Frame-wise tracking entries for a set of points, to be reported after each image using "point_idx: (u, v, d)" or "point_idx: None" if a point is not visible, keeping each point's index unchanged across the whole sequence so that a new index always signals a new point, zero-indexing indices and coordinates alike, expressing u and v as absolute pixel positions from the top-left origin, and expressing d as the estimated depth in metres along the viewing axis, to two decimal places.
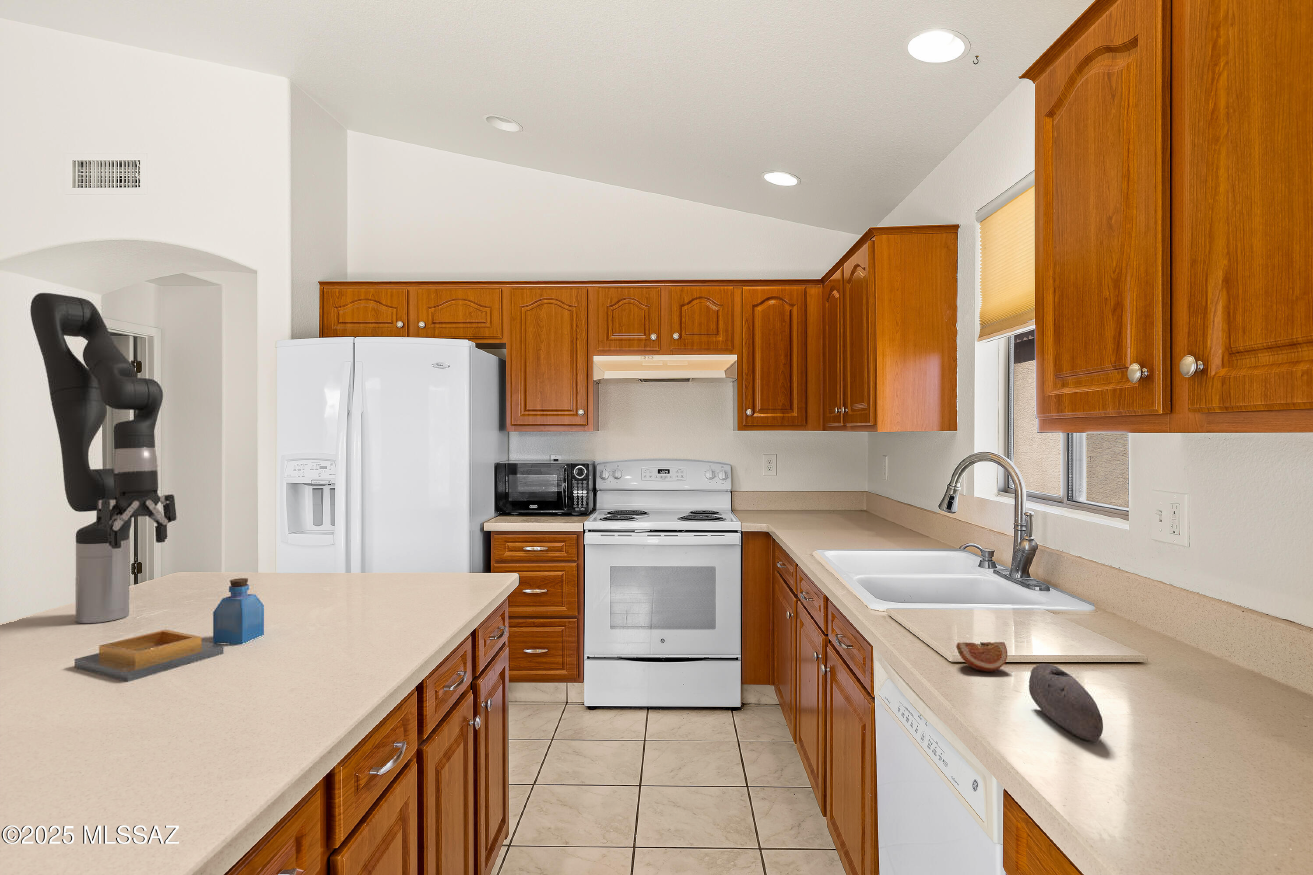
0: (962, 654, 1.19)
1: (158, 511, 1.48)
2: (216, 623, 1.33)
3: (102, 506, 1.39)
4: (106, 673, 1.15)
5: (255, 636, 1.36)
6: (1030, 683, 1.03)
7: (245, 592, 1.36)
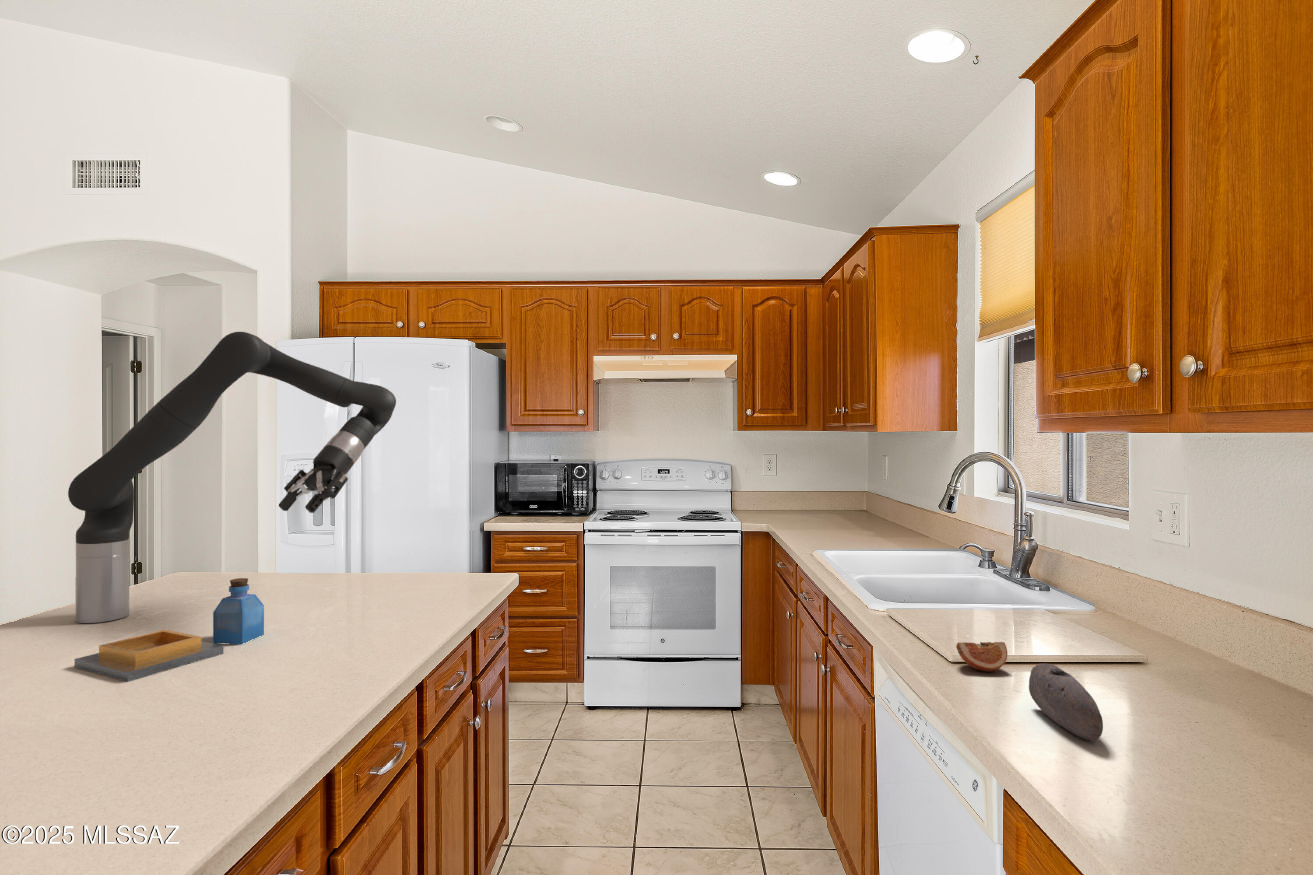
0: (962, 654, 1.19)
1: None
2: (216, 623, 1.33)
3: (344, 482, 1.51)
4: (106, 673, 1.15)
5: (255, 636, 1.36)
6: (1030, 683, 1.03)
7: (245, 592, 1.36)
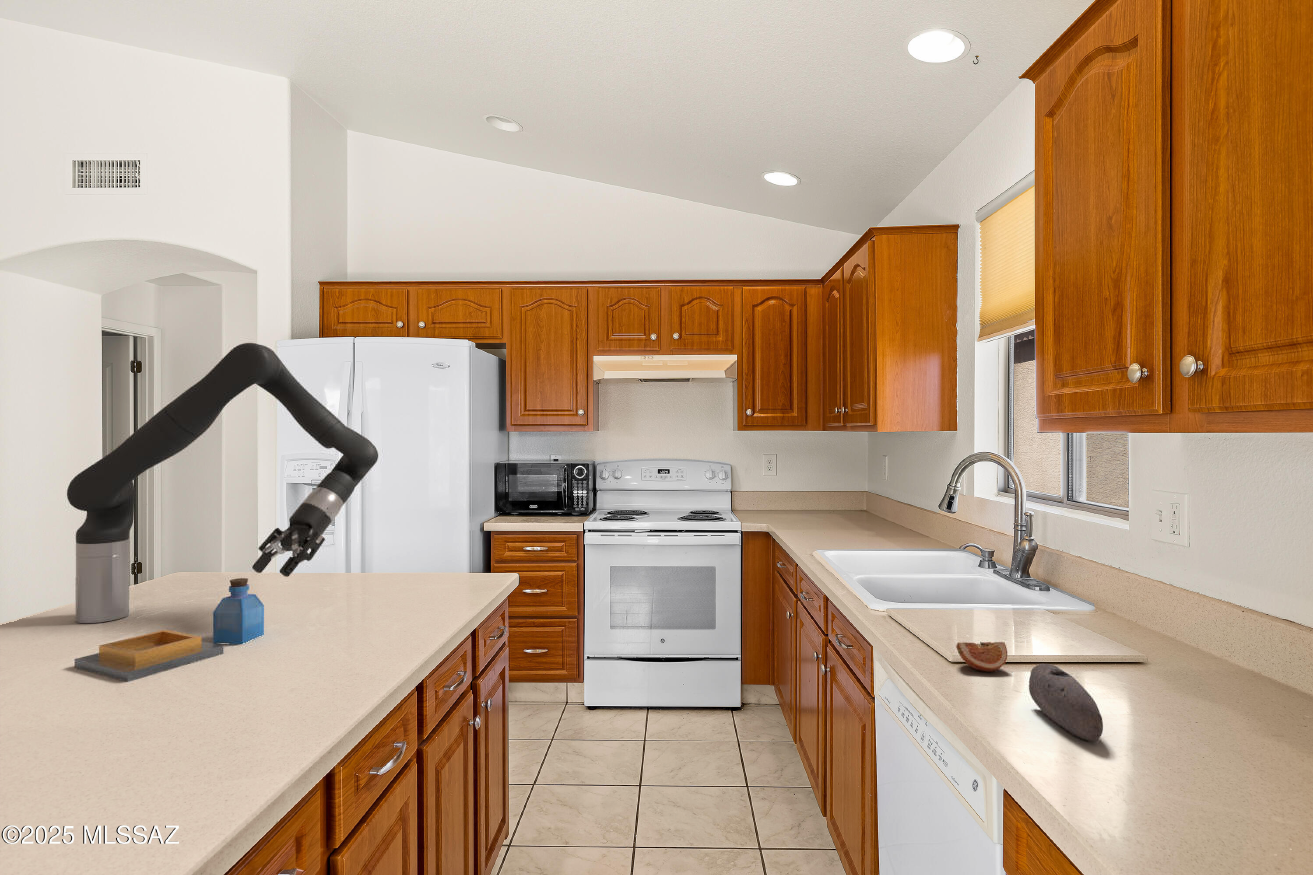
0: (962, 654, 1.19)
1: None
2: (216, 623, 1.33)
3: (321, 542, 1.46)
4: (106, 673, 1.15)
5: (255, 636, 1.36)
6: (1030, 683, 1.03)
7: (245, 592, 1.36)
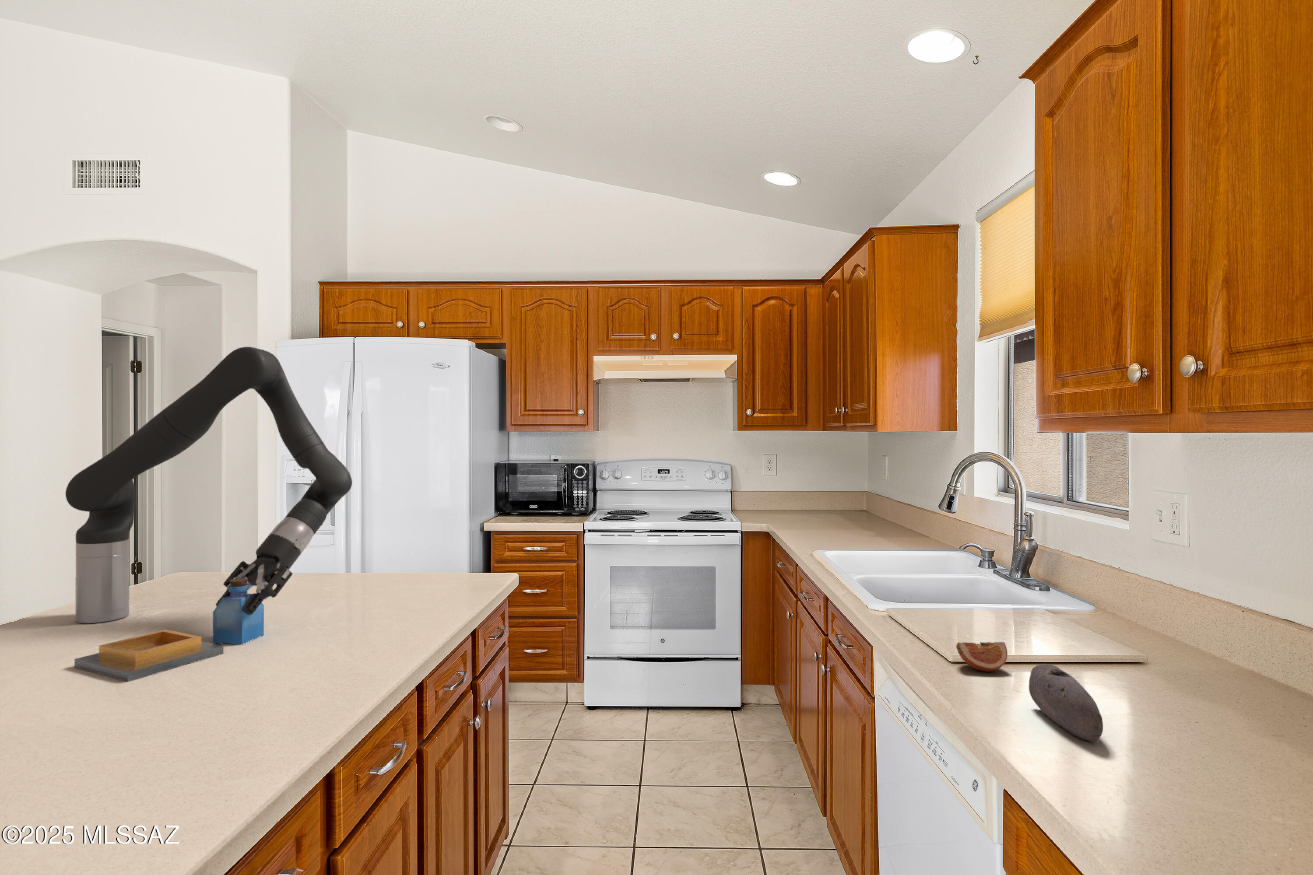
0: (962, 654, 1.19)
1: None
2: (216, 622, 1.33)
3: (288, 577, 1.38)
4: (106, 673, 1.15)
5: (255, 636, 1.36)
6: (1030, 683, 1.03)
7: (245, 592, 1.36)
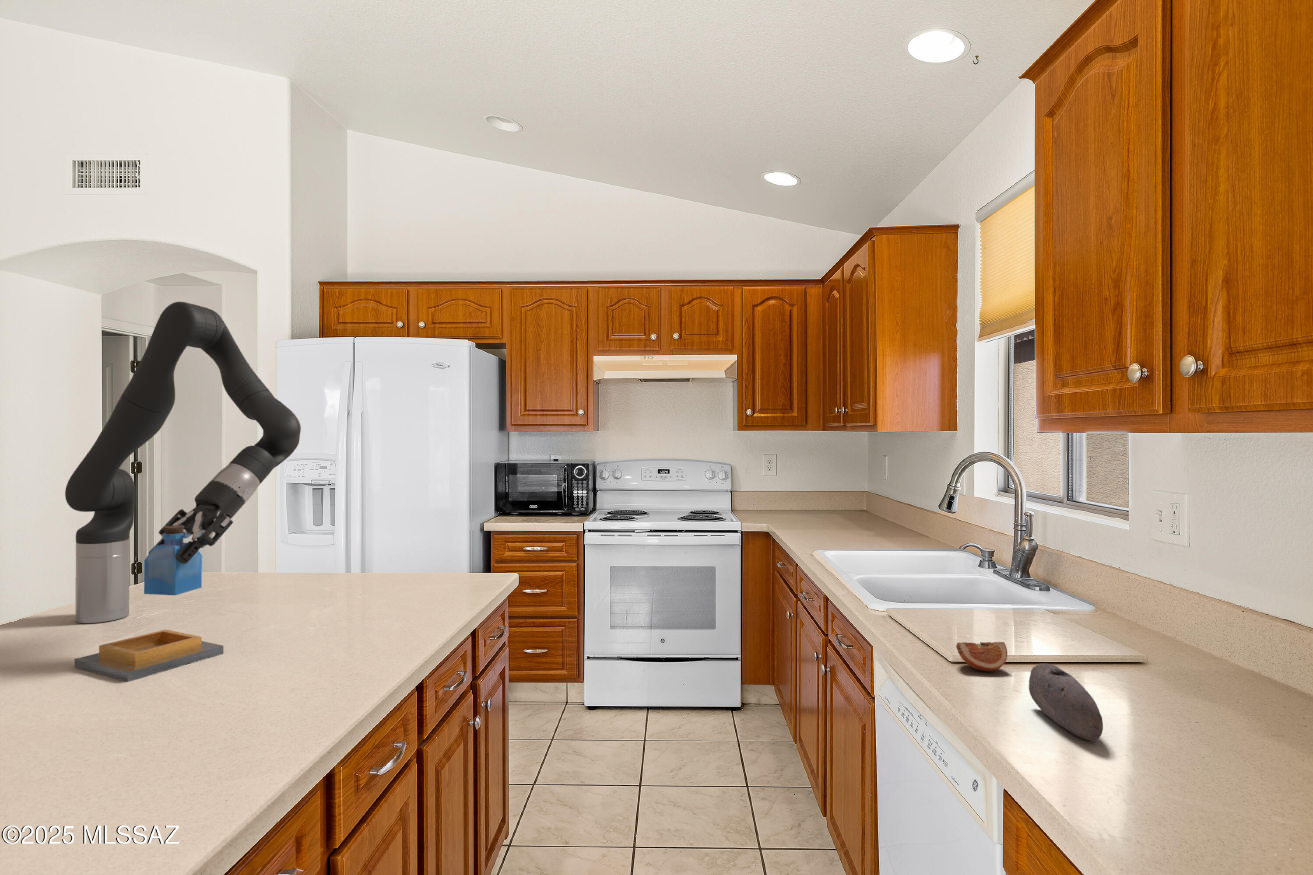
0: (962, 654, 1.19)
1: None
2: (148, 571, 1.24)
3: (227, 526, 1.29)
4: (106, 673, 1.15)
5: (191, 587, 1.27)
6: (1030, 683, 1.03)
7: (180, 540, 1.26)
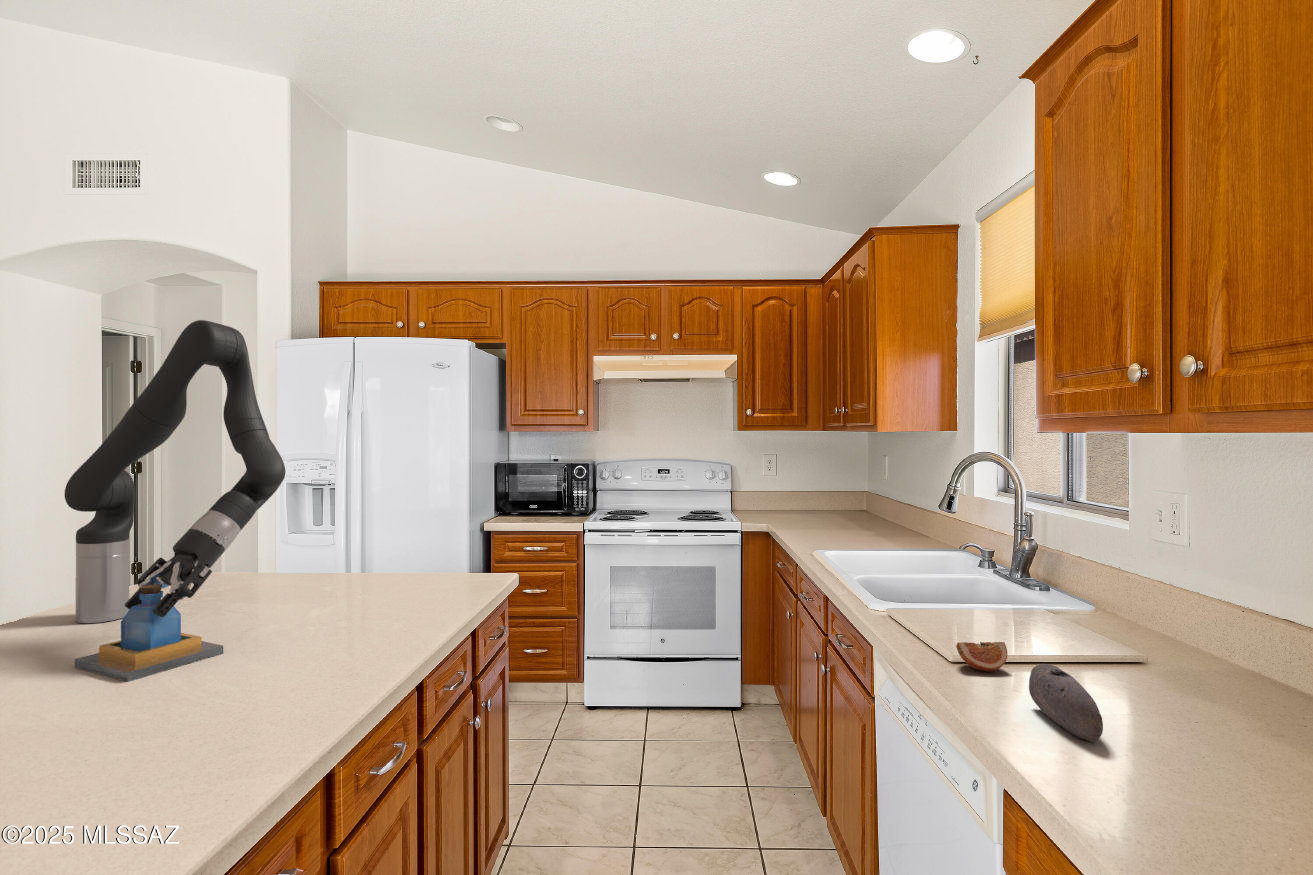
0: (962, 654, 1.19)
1: None
2: (124, 633, 1.21)
3: (206, 576, 1.26)
4: (106, 673, 1.15)
5: None
6: (1030, 683, 1.03)
7: (157, 600, 1.23)
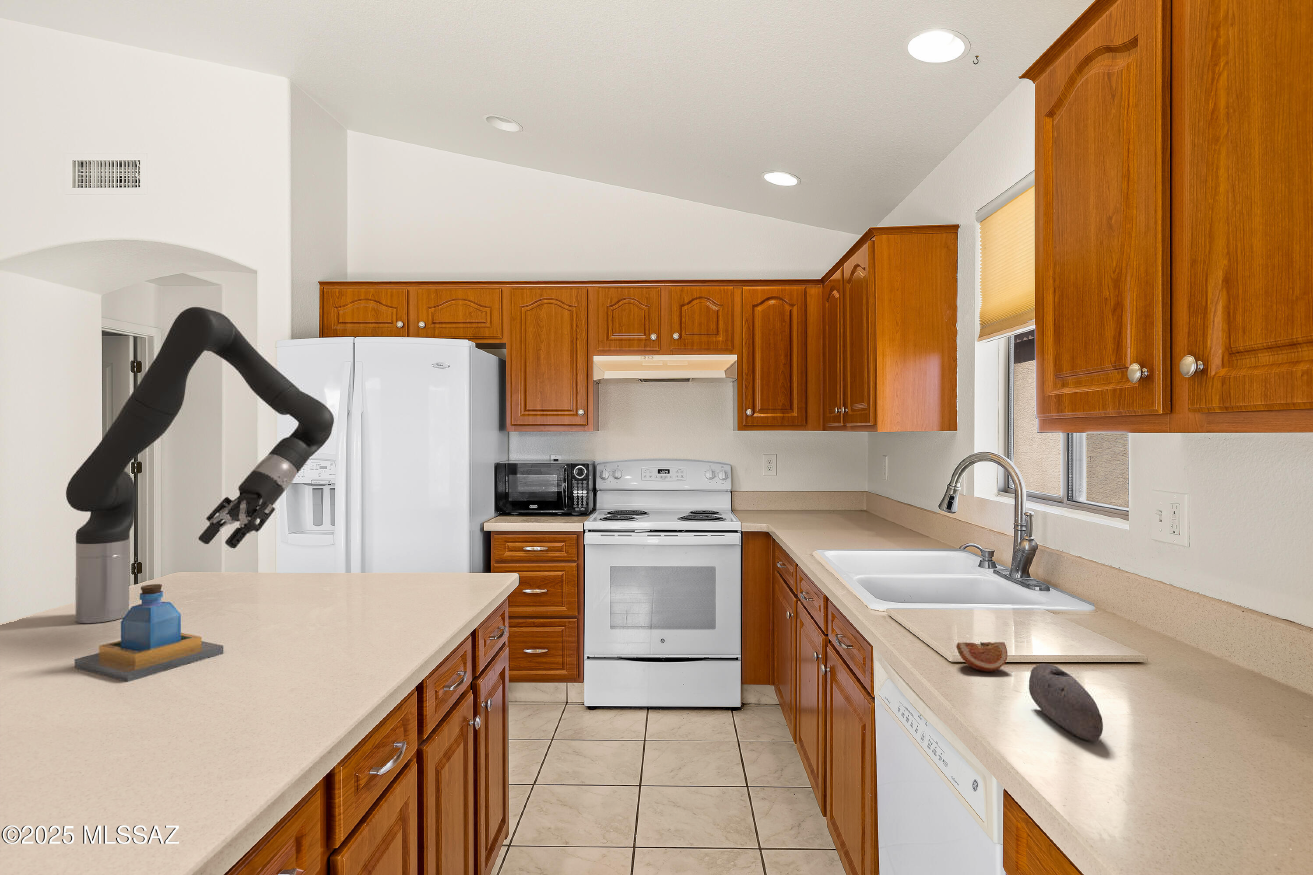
0: (962, 654, 1.19)
1: None
2: (124, 633, 1.21)
3: (270, 512, 1.38)
4: (106, 673, 1.15)
5: None
6: (1030, 683, 1.03)
7: (157, 600, 1.23)
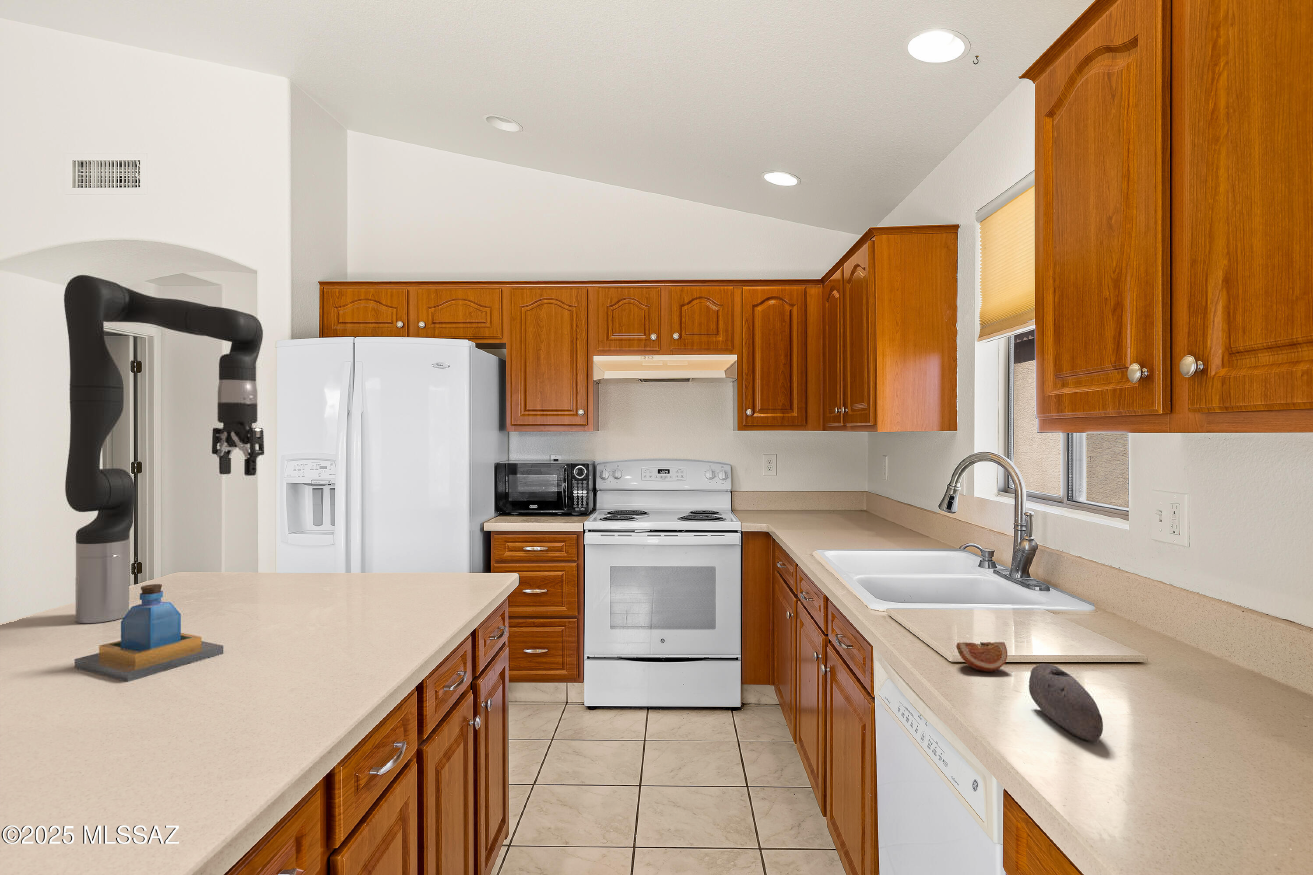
0: (962, 654, 1.19)
1: None
2: (124, 633, 1.21)
3: (262, 434, 1.48)
4: (106, 673, 1.15)
5: None
6: (1030, 683, 1.03)
7: (157, 600, 1.23)
